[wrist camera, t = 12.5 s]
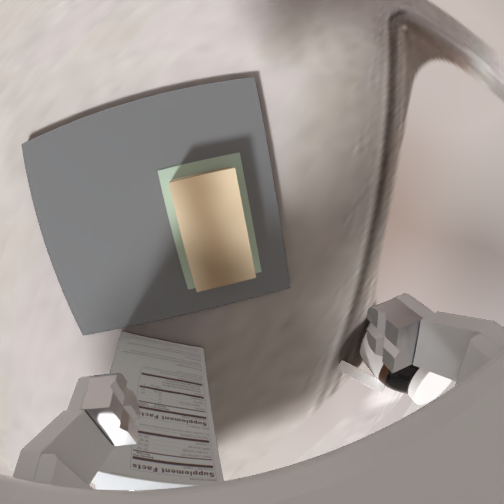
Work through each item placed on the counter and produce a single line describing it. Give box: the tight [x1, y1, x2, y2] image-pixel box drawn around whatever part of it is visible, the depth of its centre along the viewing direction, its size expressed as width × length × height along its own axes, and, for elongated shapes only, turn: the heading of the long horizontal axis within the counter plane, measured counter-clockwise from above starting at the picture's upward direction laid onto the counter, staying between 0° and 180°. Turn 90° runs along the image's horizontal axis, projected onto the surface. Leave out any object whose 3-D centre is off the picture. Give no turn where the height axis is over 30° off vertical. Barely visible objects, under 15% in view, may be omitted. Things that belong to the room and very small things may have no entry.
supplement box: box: [93, 331, 224, 490], centre depth 22 cm, size 10×9×17 cm
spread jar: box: [337, 322, 452, 404], centre depth 30 cm, size 12×11×12 cm
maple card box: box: [169, 167, 256, 292], centre depth 24 cm, size 5×9×3 cm, turn 10°
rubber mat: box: [22, 77, 290, 335], centre depth 24 cm, size 20×22×1 cm
